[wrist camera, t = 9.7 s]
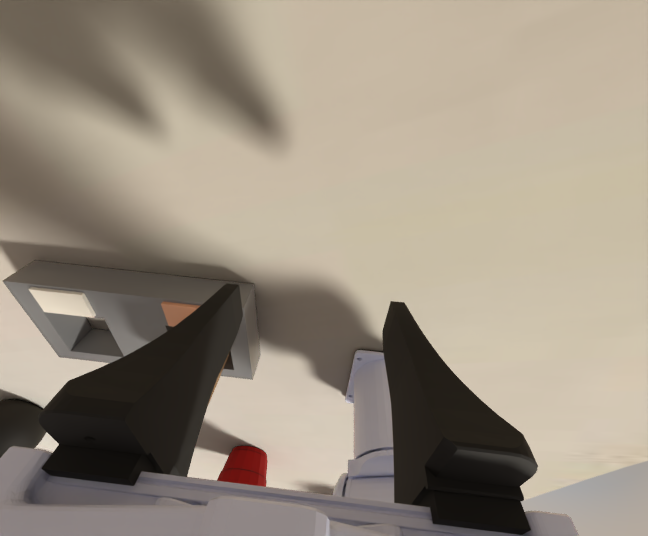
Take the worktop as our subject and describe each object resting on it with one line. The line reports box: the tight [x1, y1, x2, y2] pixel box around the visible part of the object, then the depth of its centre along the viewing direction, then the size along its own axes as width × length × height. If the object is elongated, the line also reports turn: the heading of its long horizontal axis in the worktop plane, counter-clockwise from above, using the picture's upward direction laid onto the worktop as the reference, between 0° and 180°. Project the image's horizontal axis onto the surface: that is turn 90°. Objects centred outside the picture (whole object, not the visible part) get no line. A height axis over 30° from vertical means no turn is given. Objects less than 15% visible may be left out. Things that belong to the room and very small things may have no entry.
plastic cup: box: [217, 446, 267, 487], centre depth 42 cm, size 11×11×12 cm
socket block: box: [3, 260, 260, 380], centre depth 28 cm, size 10×20×3 cm, turn 86°
